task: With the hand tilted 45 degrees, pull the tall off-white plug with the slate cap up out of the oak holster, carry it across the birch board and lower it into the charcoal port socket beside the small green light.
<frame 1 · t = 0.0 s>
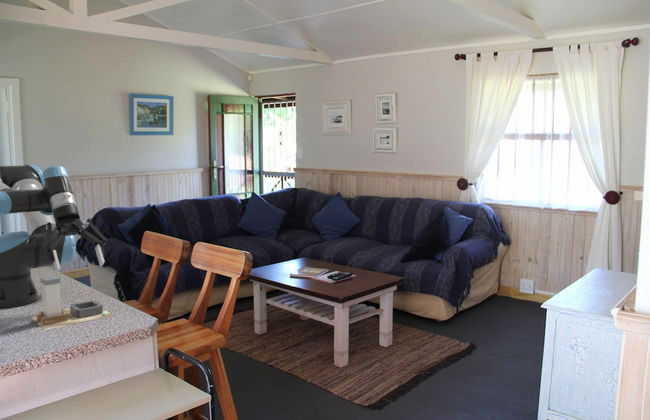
hand: (80, 267, 179), 15 cm above the kitchen counter, tool tilted 35°, fingers open, 13 cm apart
port: (86, 316, 178), resting on board
plug: (52, 319, 171), point 1 cm above the kitchen counter, touching board
holster: (53, 323, 172), resting on board
board: (71, 319, 175), on the kitchen counter
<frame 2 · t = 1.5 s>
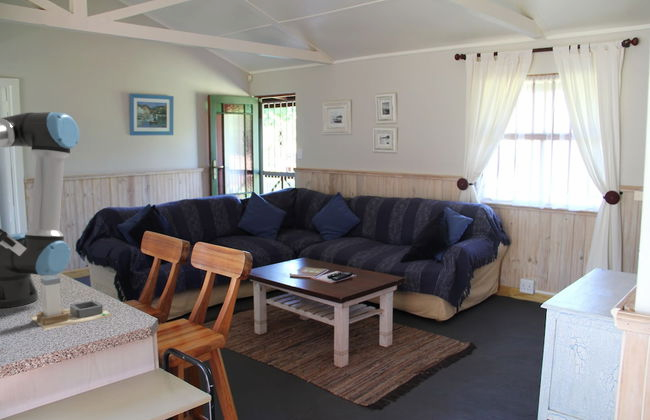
hand: (16, 248, 164), 24 cm above the kitchen counter, tool tilted 45°, fingers open, 13 cm apart
nothing on the kitchen counter moved.
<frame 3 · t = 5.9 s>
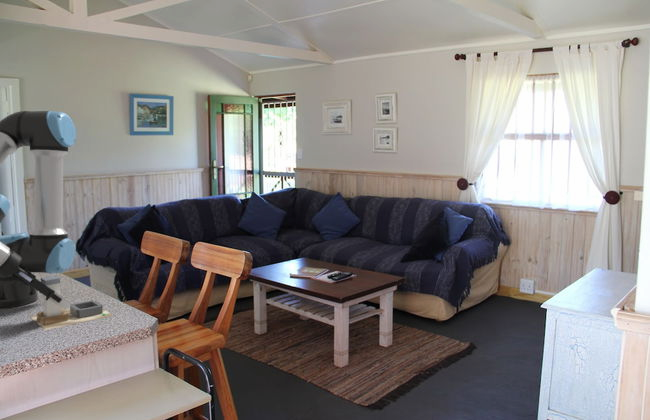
hand: (65, 304, 173), 5 cm above the kitchen counter, tool tilted 45°, fingers closed on plug, 4 cm apart
plug: (52, 319, 171), point 1 cm above the kitchen counter, touching board, gripper
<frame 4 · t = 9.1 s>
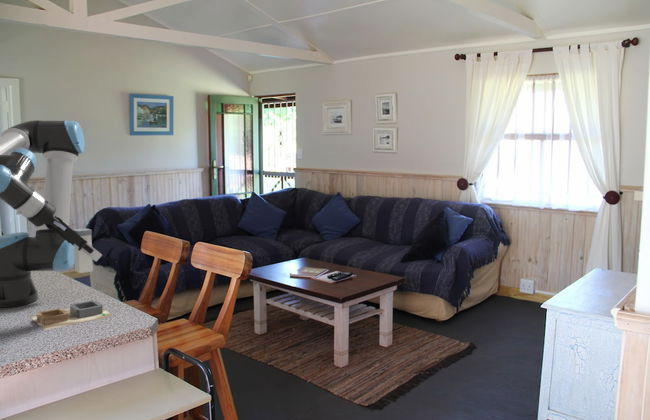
hand: (96, 256, 178), 19 cm above the kitchen counter, tool tilted 45°, fingers closed on plug, 4 cm apart
plug: (84, 270, 176), point 15 cm above the kitchen counter, touching gripper
when the fingers open (6 cm above the kitchen counter, at t = 12.3 s): plug stays where it is, resting on board.
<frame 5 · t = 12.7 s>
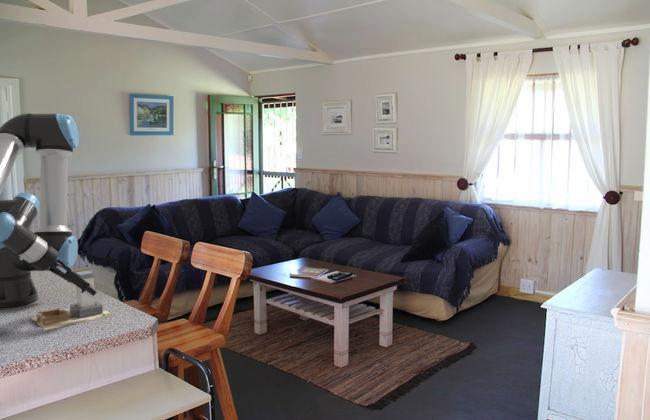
hand: (95, 295, 179), 6 cm above the kitchen counter, tool tilted 45°, fingers open, 10 cm apart
plug: (86, 312, 178), point 1 cm above the kitchen counter, touching board
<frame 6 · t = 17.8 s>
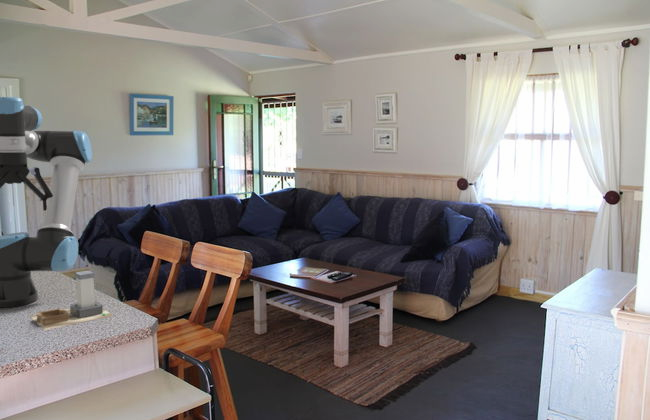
hand: (16, 224, 166), 31 cm above the kitchen counter, tool pointing down, fingers open, 13 cm apart
nothing on the kitchen counter moved.
at the end: plug 0.0 cm off-centre on the port, point 1.2 cm above the port's base; plug tilted 0°; the gripper is holding nothing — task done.
